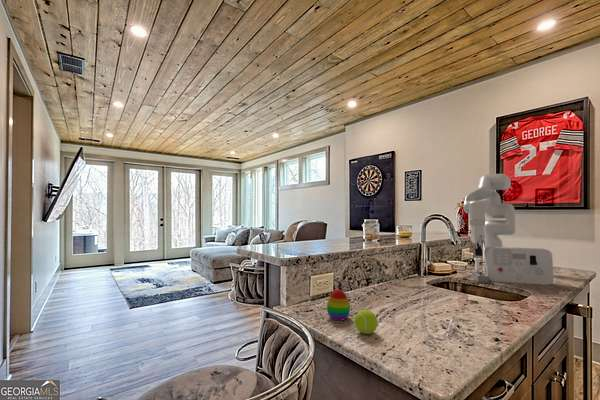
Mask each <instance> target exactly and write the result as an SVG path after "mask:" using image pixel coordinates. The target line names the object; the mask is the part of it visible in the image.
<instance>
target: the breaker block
mask: <svg viewBox="0 0 600 400" xmlns="http://www.w3.org/2000/svg"><path fill="white" fill-rule="evenodd" d="M471 277H472V278H473V279H474V280H475V281H476V282H477V283H482V284H483V283H484V284H489V283H490V280H489V276H488V275H486V274H485V271H483V270H480V274H478V273H477V272H476V269H474V270H473V269H472V270H471Z"/></svg>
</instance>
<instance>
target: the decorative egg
mask: <svg viewBox="0 0 600 400" xmlns="http://www.w3.org/2000/svg"><path fill="white" fill-rule="evenodd" d="M350 303H351V302H350V300H349V298H348V295H347V294H346V293H345V292H344V291H343V290H341V289H338V288H337V289H335V290H333V291H332V292H331V293H330V294H329V297H328V298H327V304H326V307H327V308H326V309H327V312H328V316H329V317H330V319H332V320H334V319H336V320H335V321H343V320H342V319H345V320H346V319H347V318H348V317H349V314H350V312H351V306H350Z"/></svg>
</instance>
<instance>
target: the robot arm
mask: <svg viewBox="0 0 600 400" xmlns="http://www.w3.org/2000/svg"><path fill="white" fill-rule="evenodd" d="M511 184H512V182H511V179H510V177H509V176H508V175H507V174H505V173H493V174H484V175H482V176H480V178H479V180H478V184H477V187H476V189H475V190H473V191H471V192H470V193H468V194H467V195H466V196H465V198H464V200H463V201H464V202H463V206H462V207H463V208H462V209H463V211H464V213H466V214H468V215H469V217H468V218H469V219H468V220H469V226H470V241H471V243H473V244H474V255H475V256H476V257H482V256H483V244H484V250H485V249H486V248H487V247H503V240H502V239H501V238H500V237H499V236H514V234H515V233H516V212H515V211H516V210H515V207H514V205H513V204H511V203H502V202H501V196H500V194H499V193H498V192H497V191H499V190H503V191H504V190H509V189H510V188H511V186H512V185H511ZM486 217H487V218H488V220H486ZM490 219H491V220H490ZM492 219H495V220H492ZM498 219H499V220H498ZM500 219H501V220H500ZM502 219H504V220H502ZM482 267H483V268H484V269H485V264H484V265H482Z"/></svg>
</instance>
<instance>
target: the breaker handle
mask: <svg viewBox="0 0 600 400" xmlns="http://www.w3.org/2000/svg"><path fill="white" fill-rule="evenodd" d="M473 260H474V263H475V268H474V270H476V272H477V273H478V274H480V271H481V270H480V262H481V258H480V257H474V258H473Z"/></svg>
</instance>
